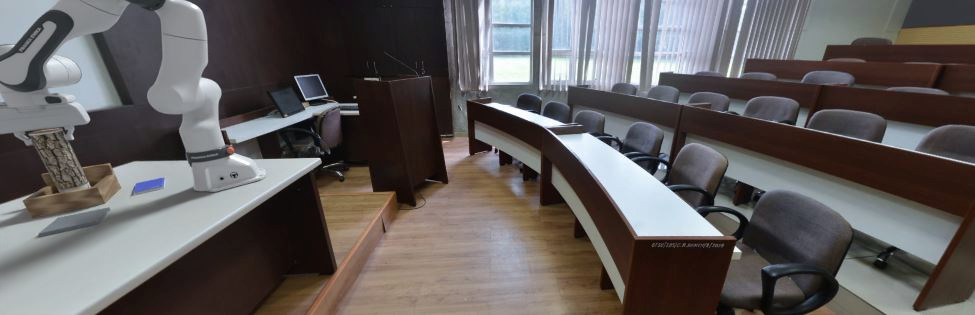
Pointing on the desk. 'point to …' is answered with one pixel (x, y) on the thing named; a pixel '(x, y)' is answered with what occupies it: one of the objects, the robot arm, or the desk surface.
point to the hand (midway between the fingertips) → (51, 142)
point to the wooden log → (59, 159)
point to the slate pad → (75, 221)
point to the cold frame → (74, 193)
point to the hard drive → (149, 186)
